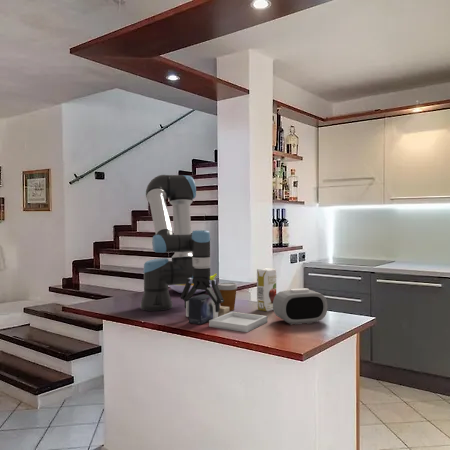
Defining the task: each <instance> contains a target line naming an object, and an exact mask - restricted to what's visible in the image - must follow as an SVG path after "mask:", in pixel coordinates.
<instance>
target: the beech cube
mask: <svg viewBox="0 0 450 450" xmlns="http://www.w3.org/2000/svg"><path fill="white" fill-rule="evenodd" d="M229 312H231V311H229V307H226V306H220V311H219V312H218V317H219V316H222V315H224V314H227V313H229Z"/></svg>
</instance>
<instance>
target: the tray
mask: <svg viewBox="0 0 450 450" xmlns="http://www.w3.org/2000/svg"><path fill="white" fill-rule="evenodd" d="M208 323H209V324H208V327H210V328H216V329H222V330H230V331H235V332H242V333H248V332H251V331H252V330H255V329H256V328H258V327H260V326H262V325H264V324H266V323H268V315H263V314H261V315H260V314H254V313H246V312H245V313H244V312H239V311H237V312H236V311H230V312H229V313H227V314H224V315H222V316H219V317H217V318H214V319H212V320H209V322H208Z"/></svg>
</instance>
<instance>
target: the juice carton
mask: <svg viewBox="0 0 450 450" xmlns="http://www.w3.org/2000/svg"><path fill="white" fill-rule="evenodd" d="M276 294H277V268H271V267H270V268H269V267H264V268H262V269H258V268H257V269H256V309H257V311H264V312H270V311H274V310H273V300H274V297H275V296H276Z"/></svg>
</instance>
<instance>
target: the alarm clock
mask: <svg viewBox="0 0 450 450" xmlns="http://www.w3.org/2000/svg"><path fill="white" fill-rule="evenodd" d="M327 300H328V299H327V298H326V296H325V295H324V294H323V293H320V292H317V291H315V290H313V289H312V290H311V289H309V288H307V287H306V288H305V287H304V288H291V289H290V290H288V289H287V290H283V291H279V292H278V293H277V292H276V296H275V297H274V300H273V310H272V311H273V312H274V314H275V316H277V317H278V318H279V319H281V320H283V321H284V322H286V323H288V324H289V325H291V326H292V324H295V325H303V324H302V323H307V324H313V323H312V322H317V323H318V322H319V321H321V320H323V319H324V318H325V317H326V315H327V313H328V301H327Z"/></svg>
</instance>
